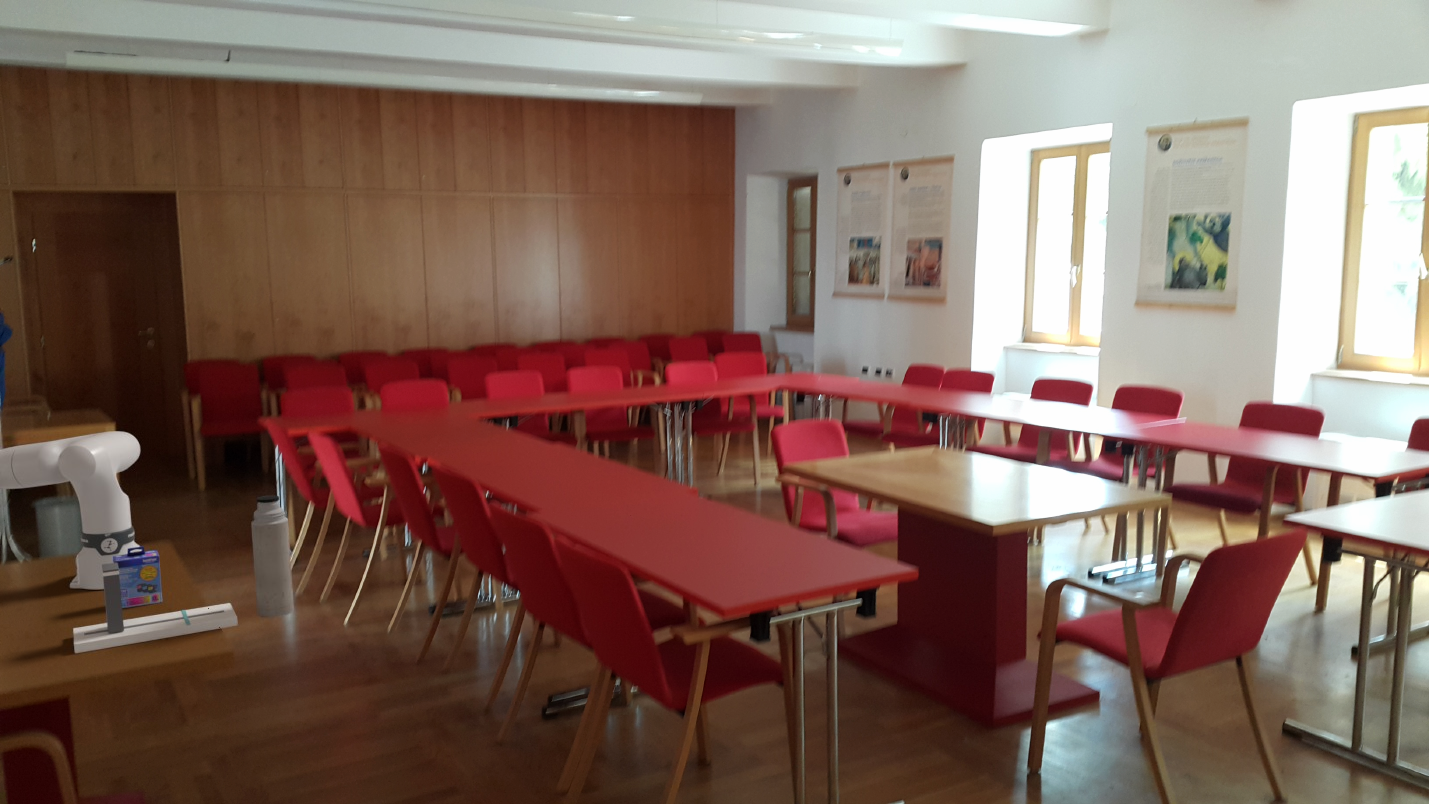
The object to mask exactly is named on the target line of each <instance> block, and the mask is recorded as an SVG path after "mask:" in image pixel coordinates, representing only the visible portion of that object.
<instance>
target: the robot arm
mask: <svg viewBox="0 0 1429 804" xmlns="http://www.w3.org/2000/svg"><path fill="white" fill-rule="evenodd" d="M140 455H141V445H140V443H139V441H138V439H137V438H136V437H135V436H134V435H133V434H131V433H129V432H126V431H119V430H118V431H115V430H113V431H112V430H111V431H104V432H97V433H91V434H86V435H81V436H79V435H78V436H74V437H68V438H62V439H57V440H51V441H44V442H43V441H42V442H35V443H29V444H28V443H27V444H23V445H22V444H21V445H15V446H12V447H11V446H10V447H6V448H0V489H2V490H6V489H7V490H10V489H11V490H15V489H26V488H27V489H28V488H34V487H35V488H36V487H43V486H48V485H56V484H57V485H58V484H62V483H68V482H70V484H71V485H72V487H73V489H74V491H75V493H76V494H75V495H76V497H77V499H78V502H79V503H78V505H79V507H80V509H79V511H80V518H81V527H82V531H81V533H80V541H81V546H82V548H81V550H80V552H78V554H76V557H75V567H76V576H75V577H74V578H73V579H72V580H71V582H70V584H69V588H70V589H84V590H104V583H103V573H102V564H110V563H113V556H118V555H124V554H127V553H128V548H134V547H141V546H140V544H138V543H136V542H135V539H136V538H135V529H134V526H133V525H132V518H131V517H132V516H131V504H130V498H129V495H127V494H126V492H124V491H123V489H122V488H121V487H120V484H119V481H118V478H117V474H119V473H120V472H121V473H122V472H124V471H125V470H128V469H129V468H130V467H131V466H132V465H133V464H135V462H137V460H138V459H139V457H140ZM137 551H142V550H141V549H136V550H132V551H130V552H137Z"/></svg>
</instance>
